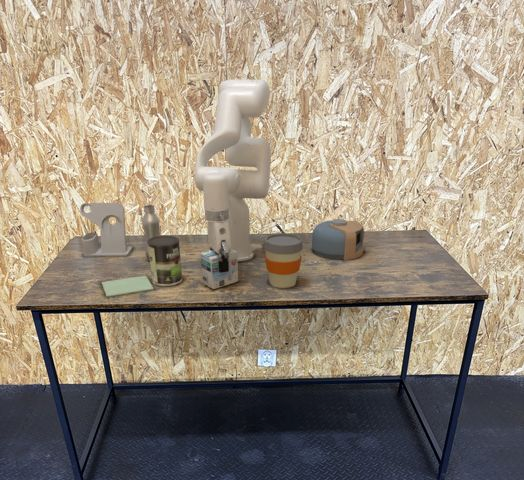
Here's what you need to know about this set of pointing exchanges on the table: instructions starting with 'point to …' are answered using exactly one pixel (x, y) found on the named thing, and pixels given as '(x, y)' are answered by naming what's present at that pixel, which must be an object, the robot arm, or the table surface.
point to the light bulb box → (211, 269)
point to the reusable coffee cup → (283, 259)
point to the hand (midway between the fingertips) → (219, 266)
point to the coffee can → (165, 260)
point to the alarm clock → (338, 239)
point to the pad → (127, 286)
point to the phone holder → (105, 231)
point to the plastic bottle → (150, 225)
